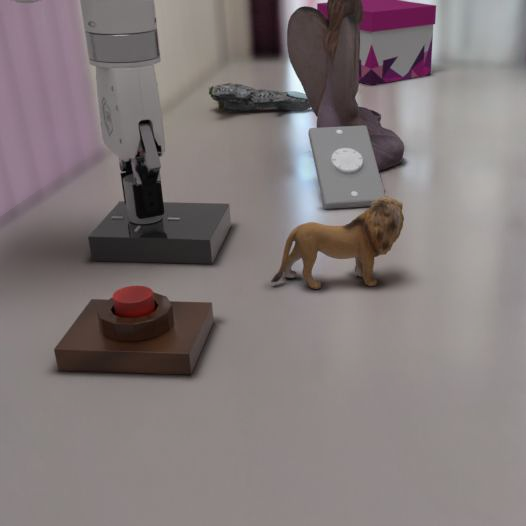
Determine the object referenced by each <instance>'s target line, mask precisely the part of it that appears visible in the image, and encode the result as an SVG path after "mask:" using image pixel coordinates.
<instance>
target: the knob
mask: <svg viewBox="0 0 526 526" xmlns="http://www.w3.org/2000/svg"><path fill="white" fill-rule="evenodd" d="M123 184H124V191H125V198H126V206H127V213H128V220H129V221H130V222H131V223H135V224H151V223H155V222H158V221H160V220H161V219H162V217H163V215H161V216H155V217H149V218H144V219H139V218H138V217H137V216H136V210H135V202H134V195H133V187H132V185H134V184H135V181H134V175H133V174H130V175H127V176H125V177H124V178H123Z"/></svg>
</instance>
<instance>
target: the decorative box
mask: <svg viewBox="0 0 526 526" xmlns="http://www.w3.org/2000/svg"><path fill="white" fill-rule="evenodd" d="M361 1H362V5H363V13H364V17H363V20H362V23H361V24H360V25H359V29H360V59H359V83H361V84H365V85H369V86H374V85H379V84H385V83H390V82H397V81H401V80H402V81H403V80H409V79H414V78H419V77H420V78H421V77H425V76H431V74H432V56H433V39H434V37H433V36H434V25H436V20H437V19H436V17H437V5H436V4H435V5H434V4H428V3H421V2H414V1H407V0H361ZM316 9H317V10H319V11H320V12H321V13H322V14H323V15H324V17H325V18H326V19H328V15H327V2H318V3H316Z"/></svg>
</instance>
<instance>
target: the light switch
mask: <svg viewBox="0 0 526 526" xmlns="http://www.w3.org/2000/svg"><path fill="white" fill-rule="evenodd" d="M307 134H308V141H309V144H310V149H311V153H312V157H313V163H314V167H315V172H316V178H317V181H318V182H317V183H318V185H319V186H318V187H319V191H320V196H321V199H322V204H323V209H325V210H335V209H350V208H365V207H371V202H373V201H375V200H376V199H380V198H381V197H386V193H385V190H384V186H383V183H382V179H381V175H380V171H378V167H377V163H376V159H375V156H374V152H373V148H372V145H371V141H370V137H369V134H368V130H367V127H366V126H365V125H364V126H344V127H324V128H317V127H309V129H308V133H307Z"/></svg>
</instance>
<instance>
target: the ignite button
mask: <svg viewBox="0 0 526 526" xmlns="http://www.w3.org/2000/svg"><path fill="white" fill-rule="evenodd" d="M153 292H154V291H153V289H151V288H150V287H149V286H144V285H130V286H125V287H121V288H119V289H117V290H116V291H115V292H113V294H112V297H111V298H113V304H114V310H115V314H116V316H119V317H122V318H137V317H142V316H146V315H149V314H151V313H152V312H154V311H155V303H154V295H153Z"/></svg>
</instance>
